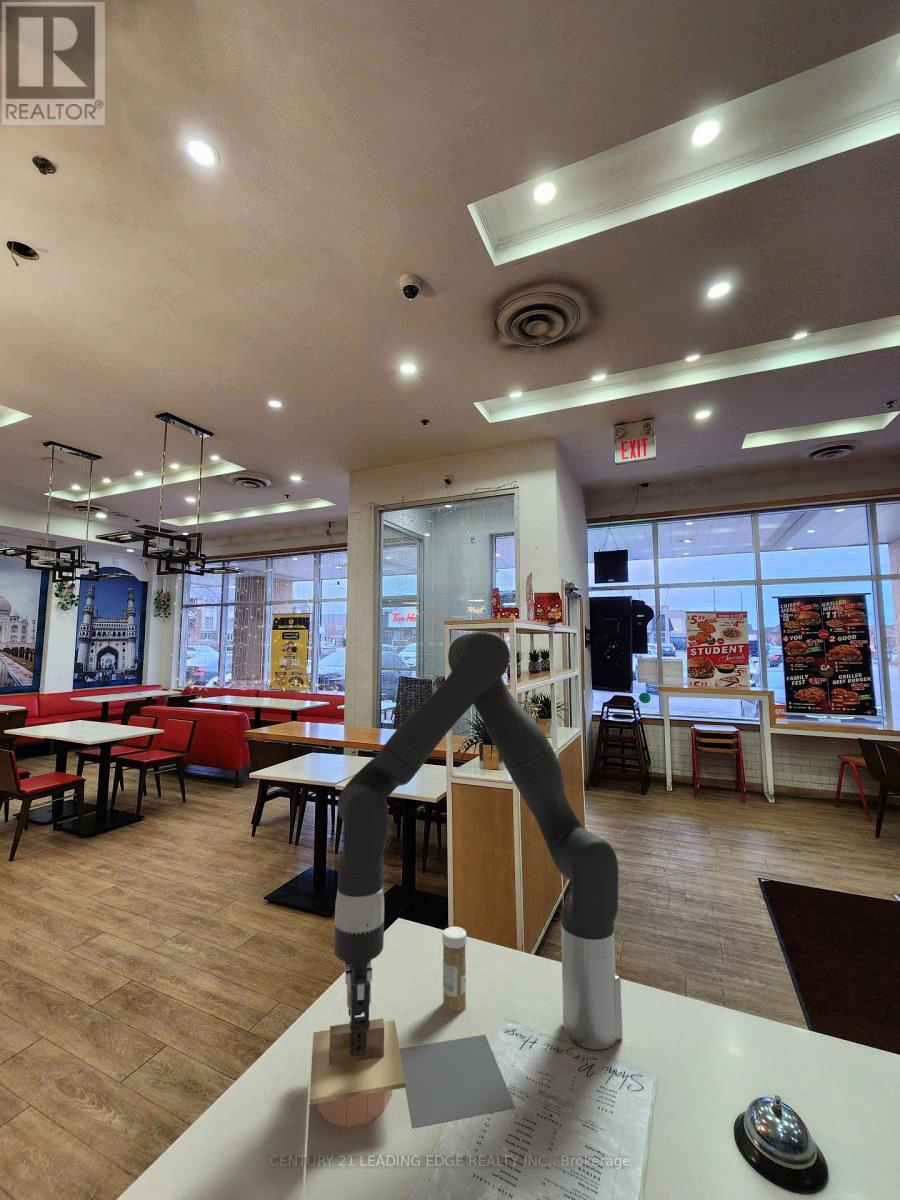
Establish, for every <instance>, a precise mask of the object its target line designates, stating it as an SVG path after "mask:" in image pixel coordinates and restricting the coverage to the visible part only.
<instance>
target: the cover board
mask: <svg viewBox="0 0 900 1200" xmlns="http://www.w3.org/2000/svg"><path fill="white" fill-rule="evenodd" d="M369 1022H370V1027H369V1030H367V1033H366V1053H365V1054H364V1055H359V1056H351V1054H350V1040H351V1030H350V1026H349V1022H348V1023H342V1024H335V1025H330V1026H329V1029H327V1030H320V1031H314V1032H313V1033H312V1034H313V1035H312V1051H311V1071H310V1087H309V1088H310V1089H309V1105H315V1104H318V1103H322V1102H327V1101H333V1100H338V1099H344V1098H350V1097H355V1096H361V1095H367V1094H372V1093H378V1092H383V1091H389V1090H392V1091H393V1090H394V1091H395V1090H400V1089H404V1088H405V1089H406V1087H405V1078H404V1072H403V1066H402V1060H401V1054H400V1044H399V1038H398V1032H397V1027H396V1020H395V1019H394V1020H388V1021H387V1020H386V1021H384V1018H377V1019H371V1020H370V1019H369Z"/></svg>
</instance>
